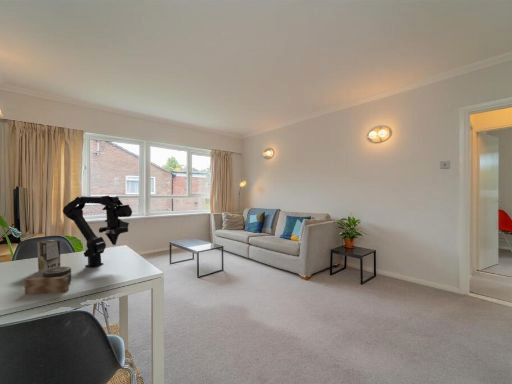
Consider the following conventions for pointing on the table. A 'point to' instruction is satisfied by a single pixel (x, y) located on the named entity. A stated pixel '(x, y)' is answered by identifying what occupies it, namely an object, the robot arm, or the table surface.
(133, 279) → the table surface
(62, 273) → the jar
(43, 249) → the coffee box
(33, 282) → the walnut board
